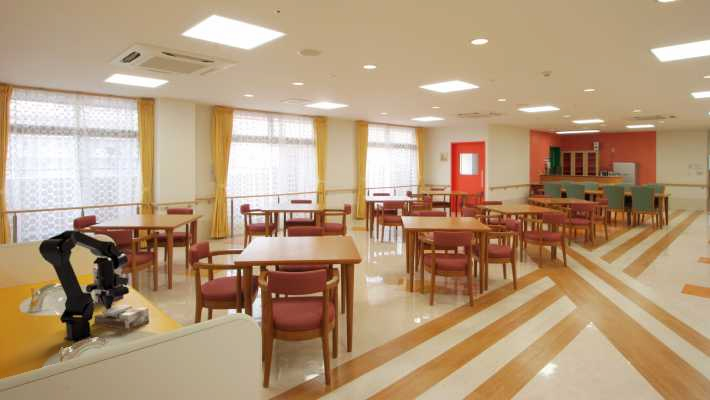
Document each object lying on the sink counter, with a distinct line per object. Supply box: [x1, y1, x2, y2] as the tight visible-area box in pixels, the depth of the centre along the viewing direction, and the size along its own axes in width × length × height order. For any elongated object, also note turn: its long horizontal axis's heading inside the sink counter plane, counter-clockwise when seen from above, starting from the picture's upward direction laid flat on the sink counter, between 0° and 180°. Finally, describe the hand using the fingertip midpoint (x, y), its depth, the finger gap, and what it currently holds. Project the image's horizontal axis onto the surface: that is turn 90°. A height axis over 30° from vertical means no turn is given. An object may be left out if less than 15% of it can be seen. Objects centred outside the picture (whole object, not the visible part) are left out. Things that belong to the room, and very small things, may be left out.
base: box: [93, 306, 150, 331], centre depth 168 cm, size 9×20×6 cm, turn 66°
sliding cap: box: [101, 303, 133, 318], centre depth 169 cm, size 9×6×4 cm, turn 156°
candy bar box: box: [92, 266, 124, 305], centre depth 197 cm, size 11×5×16 cm, turn 141°
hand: (108, 309), depth 171 cm, fingers closed
